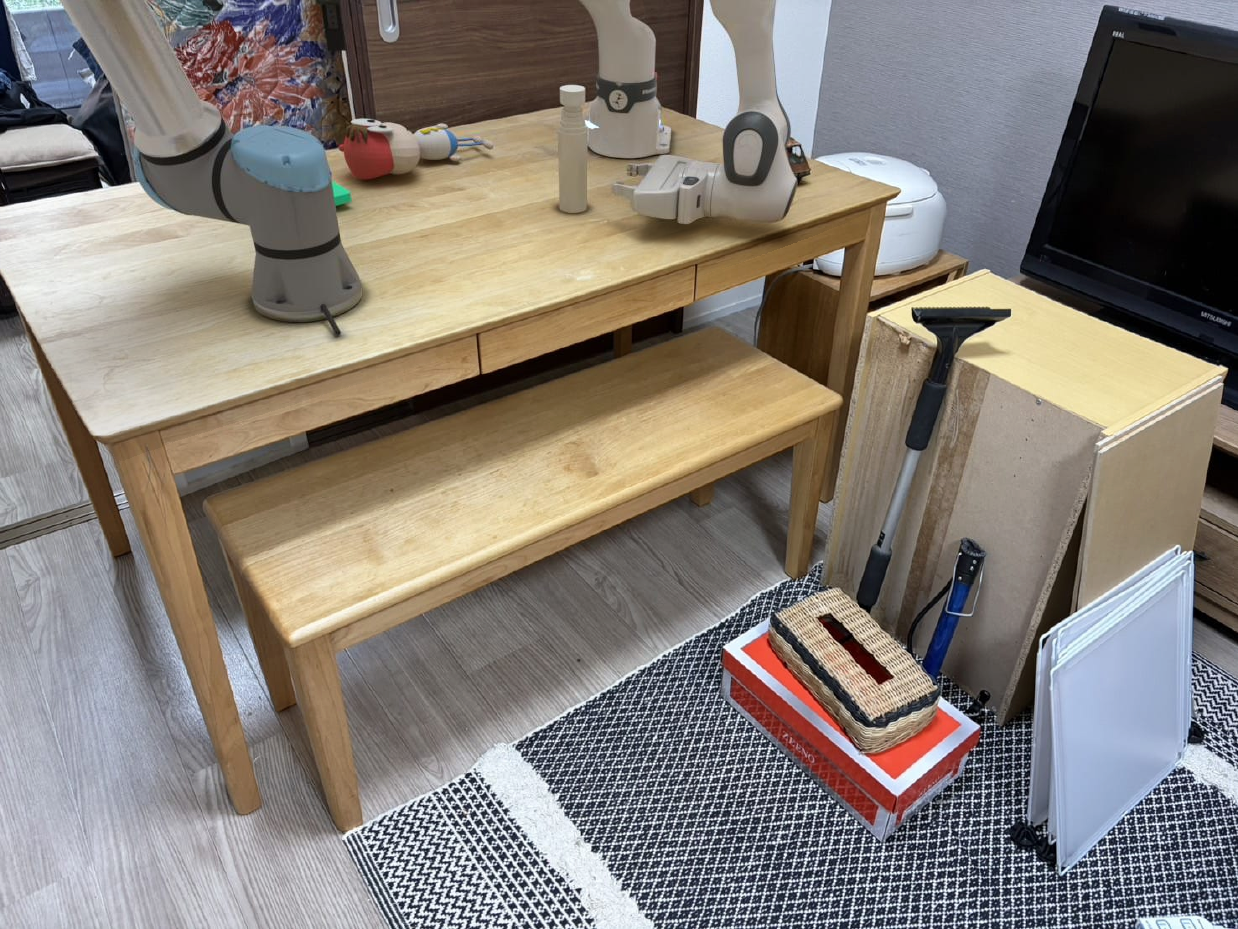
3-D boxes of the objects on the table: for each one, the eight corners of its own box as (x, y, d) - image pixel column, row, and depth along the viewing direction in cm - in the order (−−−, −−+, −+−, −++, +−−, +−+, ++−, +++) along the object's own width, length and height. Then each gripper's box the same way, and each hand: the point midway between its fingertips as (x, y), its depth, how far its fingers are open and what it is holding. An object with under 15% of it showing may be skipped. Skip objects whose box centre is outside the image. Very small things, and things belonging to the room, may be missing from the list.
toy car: (770, 163, 186) (774, 128, 182) (815, 180, 179) (820, 144, 175) (747, 169, 183) (751, 133, 179) (792, 187, 176) (798, 150, 172)
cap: (590, 103, 154) (590, 89, 153) (570, 107, 152) (569, 93, 151) (575, 97, 157) (575, 83, 155) (554, 101, 155) (554, 87, 153)
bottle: (592, 209, 165) (593, 91, 153) (570, 215, 162) (569, 96, 150) (575, 200, 168) (575, 85, 156) (553, 206, 166) (551, 89, 153)
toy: (509, 125, 177) (354, 129, 162) (508, 179, 181) (358, 188, 166) (468, 109, 190) (322, 111, 175) (468, 160, 195) (326, 166, 180)
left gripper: (287, -125, 144) (311, 23, 157) (284, -107, 125) (311, 60, 137) (337, -125, 146) (356, 22, 158) (341, -107, 126) (363, 58, 139)
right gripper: (712, 150, 163) (636, 141, 166) (687, 190, 147) (604, 180, 150) (709, 185, 167) (635, 176, 170) (684, 228, 151) (603, 217, 154)
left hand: (335, 40), depth 148 cm, fingers open, 13 cm apart
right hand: (620, 178), depth 160 cm, fingers open, 8 cm apart
